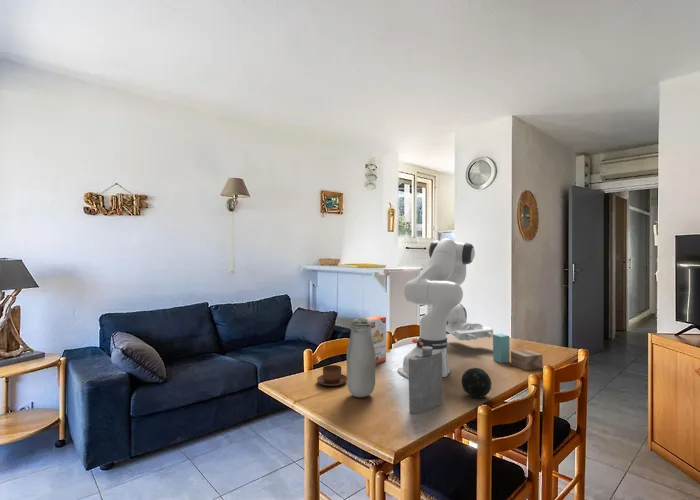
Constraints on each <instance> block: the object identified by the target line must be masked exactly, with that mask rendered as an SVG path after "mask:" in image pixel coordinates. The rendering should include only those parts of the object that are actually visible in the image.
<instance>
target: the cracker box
mask: <svg viewBox="0 0 700 500" xmlns="http://www.w3.org/2000/svg"><path fill="white" fill-rule="evenodd" d="M365 318H366V319H368V320H369V321H370V323H371V335H372V340H373V344H374V348H375V356H376V360H375V365H377V364H380V363H383V362H386V361H387V317H386V316H381V315H375V316H369V317H365Z"/></svg>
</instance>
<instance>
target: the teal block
mask: <svg viewBox="0 0 700 500" xmlns="http://www.w3.org/2000/svg"><path fill="white" fill-rule="evenodd" d="M492 354H493V355H492V357H493V358H492V360H493V361H494V362H497V363H500V364H504V363H511V351H510V335H508V334H504V333H495V334H494V333H493V338H492Z"/></svg>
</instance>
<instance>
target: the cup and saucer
mask: <svg viewBox="0 0 700 500" xmlns="http://www.w3.org/2000/svg"><path fill="white" fill-rule="evenodd" d="M316 381H317V382H318V383H319V384H320V385H322V386H326V387H337V386H341V385H344V384H345V383H347V375H345V374H342V366H340V365H336V364H330V365H329V364H328V365H325V366H322V375H319V376H318V377H317V379H316Z"/></svg>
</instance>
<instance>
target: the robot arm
mask: <svg viewBox="0 0 700 500" xmlns="http://www.w3.org/2000/svg"><path fill="white" fill-rule="evenodd" d="M475 251H476V250H475V248H474V245H473V244H472V243H469V242H462V241H455V240H453V239H451V238H443V239H436V240H433V241H432V242H431V243H430V245H429V247H428V254H429V255H428V256H429V258H430V259H429V261H428V264H427V265H426V268H425V269H424V270H423V271H422V272H421V273H420V274H418V276H417V277H415V278H413V279H411V280H408V281H407V282H406V283H405V285H404V287H403V295H404V298H405V300H406V301H407V303H408V302H409V303H411V304H414V305H420V306H430V307H431V312H428V313H426V314H424V315H423V316H422V317H421V318H420V321H419V338H418V339H417V338H415V337H413V338H411V342H412V343H413V344H416V346H414V347H413V349H412V350H411V351H409V352H408V353H407V354H405V356H404V358H403V362H402V366H398V367H397V372H398V373H399V374H400V375H401V376H403V377H405V378H408V379H409V357H414V356H416V355H419V354H422V347H425V346H428V347H432V348H433V350H441V351H442V378H446V377H447V378H448V376H449V374H450V373H451V367H450V363H449V358H448V337H447V333H448V334H449V335H452V336H454V338H455V339H457V340H459V341H471V340H474V341H475V340H478V339H483V338H488V339H489V338H490V339H491V338H492V339H493V334H494V329H492V328H491V327H488V326H485V325H482V324H481V323H472V322H467V321H468V320H467V310H466V308H465V307H464V305H463V304H461V302H462V301H463V296H464V291H463V288H462V286H461V285H462V284H463V283H464V282H465V281H466V277H467V265H470V264H471V263H472V262H473V261H474V259H475V256H476V253H475Z"/></svg>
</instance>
